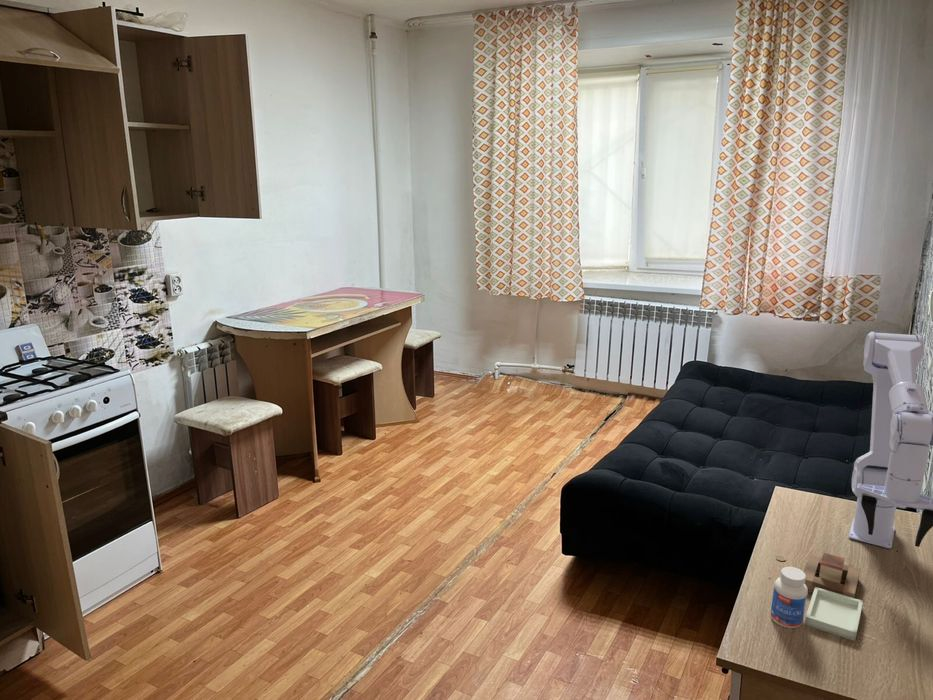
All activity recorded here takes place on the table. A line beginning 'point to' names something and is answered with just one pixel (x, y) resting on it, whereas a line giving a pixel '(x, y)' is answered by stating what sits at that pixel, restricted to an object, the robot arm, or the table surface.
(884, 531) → the robot arm
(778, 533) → the table surface
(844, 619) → the tray
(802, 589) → the pill bottle
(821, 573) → the pink-ended wooden beam
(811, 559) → the wooden square frame
